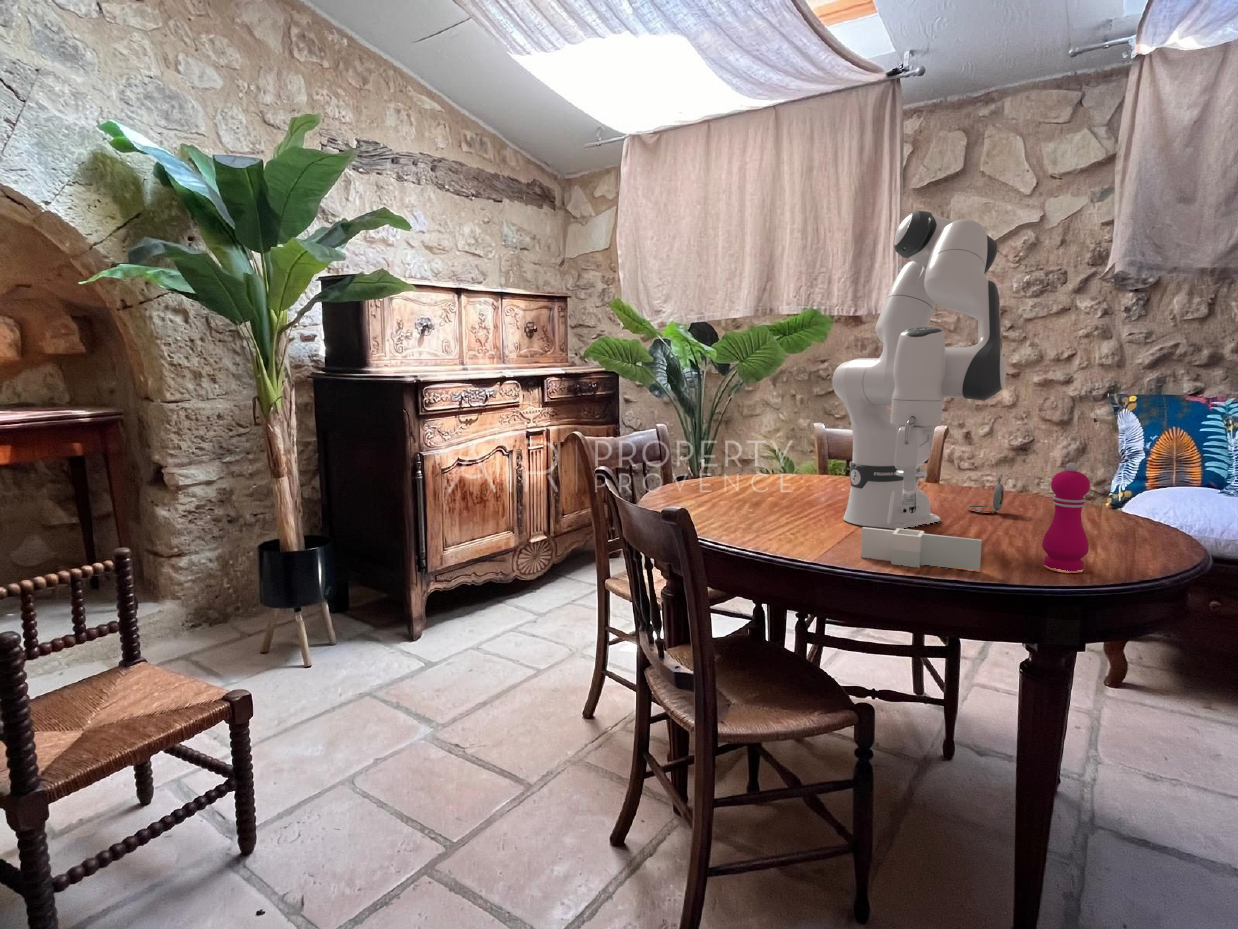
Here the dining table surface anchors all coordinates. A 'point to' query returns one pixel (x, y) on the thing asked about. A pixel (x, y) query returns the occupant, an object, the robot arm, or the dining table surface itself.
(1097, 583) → the dining table surface
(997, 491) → the pocket watch
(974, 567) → the hinge
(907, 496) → the hinge pin
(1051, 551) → the pepper mill
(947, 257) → the robot arm
